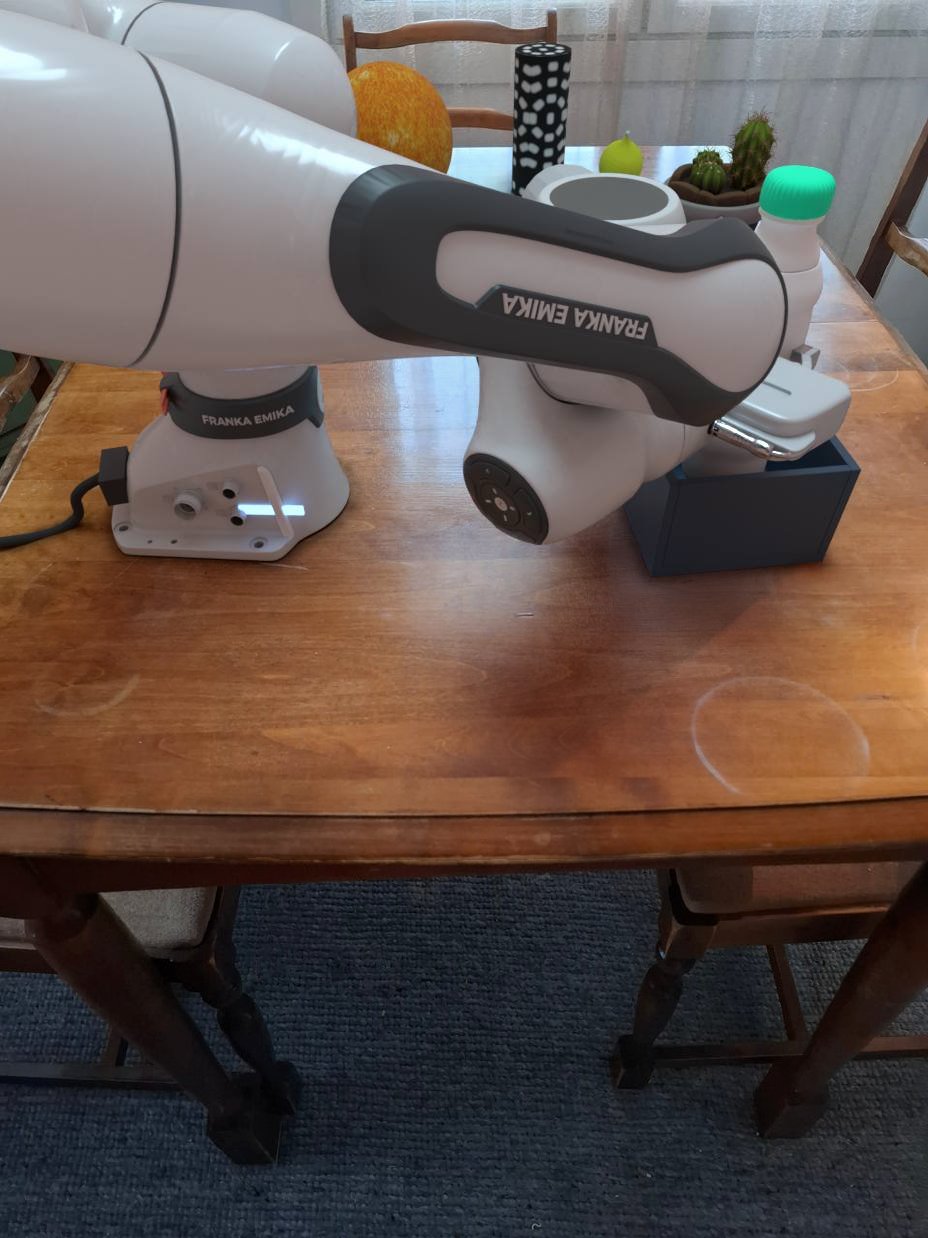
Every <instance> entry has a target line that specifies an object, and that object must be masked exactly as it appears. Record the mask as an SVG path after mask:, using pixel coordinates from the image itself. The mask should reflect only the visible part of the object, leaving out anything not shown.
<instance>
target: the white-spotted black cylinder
mask: <svg viewBox="0 0 928 1238" xmlns="http://www.w3.org/2000/svg"><path fill="white" fill-rule="evenodd" d="M572 53H573V48H572V47H570V46H569V45H565V44H563V43H562V44H561V43H557V42H556V43H555V42H533V43H532V42H531V43H526V44H522V45H519V46H517V47H515V49H514V73H513V74H514V75H513V76H514V77H513V78H514V79H513V117H512V119H513V120H512V124H513V125H512V157H511V158H512V159H511V160H512V161H511V194H512V195H516V196H519V197H522V196H523V193H524V191H525V189H526V187H527V185H528V184H529V183H530V182H531V180H532V179H533V178H534V177H535V176H536V175H537V174H538V173H540V172H541V171H543V170H544V169H546V168H548V167H551V166H555V165H558V164H565V158H566V157H565V156H566V142H567V141H566V139H567V126H568V113H569V112H568V110H569V97H570V95H569V94H570V83H571V81H570V80H571V68H572V67H571V66H572Z"/></svg>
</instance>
